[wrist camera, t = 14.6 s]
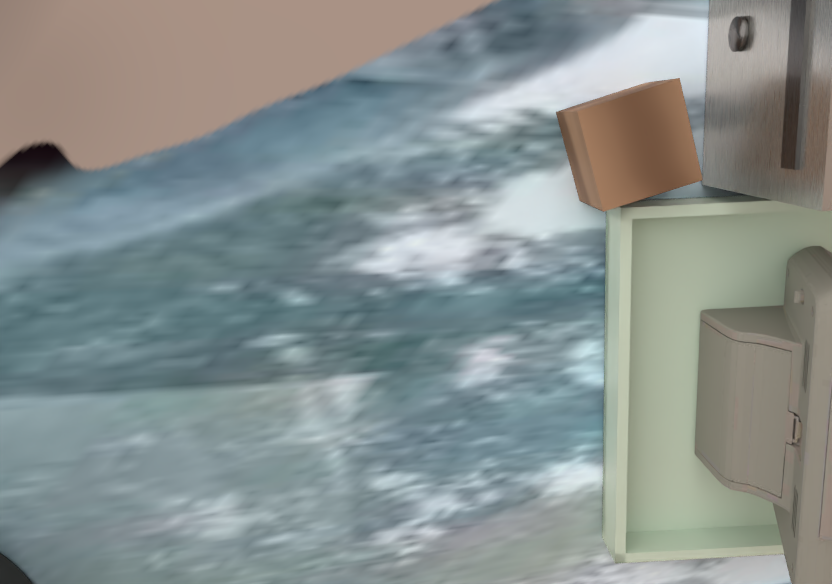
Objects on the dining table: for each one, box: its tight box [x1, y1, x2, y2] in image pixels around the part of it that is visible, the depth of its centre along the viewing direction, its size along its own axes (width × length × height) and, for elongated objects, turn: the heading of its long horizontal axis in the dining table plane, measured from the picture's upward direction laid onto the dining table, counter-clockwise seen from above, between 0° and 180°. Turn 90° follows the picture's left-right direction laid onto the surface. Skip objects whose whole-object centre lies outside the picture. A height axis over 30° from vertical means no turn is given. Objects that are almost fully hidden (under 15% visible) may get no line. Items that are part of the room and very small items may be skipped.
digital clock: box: [695, 246, 832, 584], centre depth 38 cm, size 16×9×11 cm, turn 171°
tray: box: [602, 195, 832, 563], centre depth 43 cm, size 17×21×3 cm
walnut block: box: [556, 78, 703, 212], centre depth 39 cm, size 5×5×5 cm
